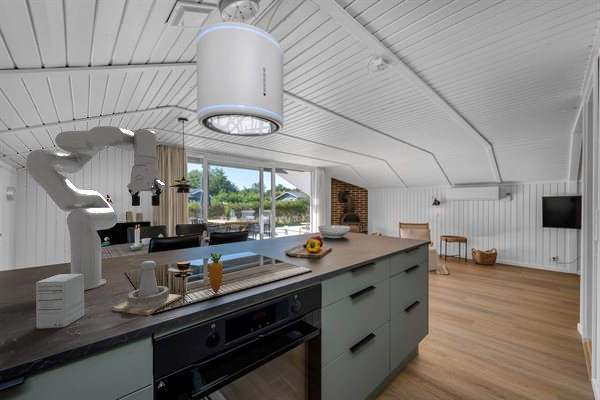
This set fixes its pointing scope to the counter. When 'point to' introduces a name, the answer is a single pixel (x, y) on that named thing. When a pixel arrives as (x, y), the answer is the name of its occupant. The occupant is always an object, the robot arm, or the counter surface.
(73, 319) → the supplement box
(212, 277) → the carrot
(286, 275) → the counter surface
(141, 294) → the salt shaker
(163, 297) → the ring holder
